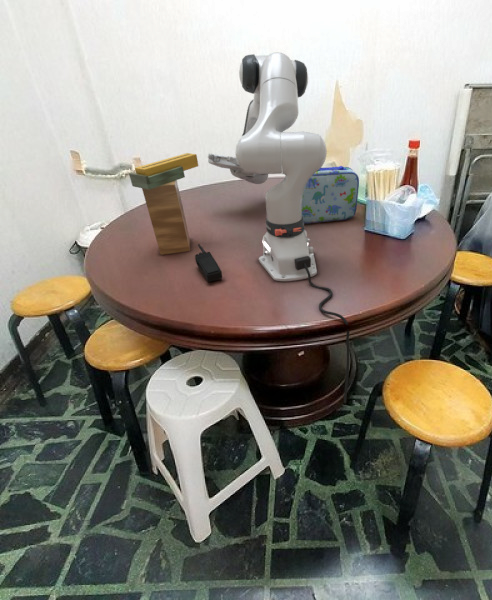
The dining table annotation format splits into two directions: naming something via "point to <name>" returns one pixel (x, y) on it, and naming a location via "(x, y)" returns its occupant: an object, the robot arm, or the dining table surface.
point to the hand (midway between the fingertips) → (218, 157)
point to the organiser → (165, 209)
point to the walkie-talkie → (208, 265)
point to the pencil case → (169, 164)
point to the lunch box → (330, 195)
